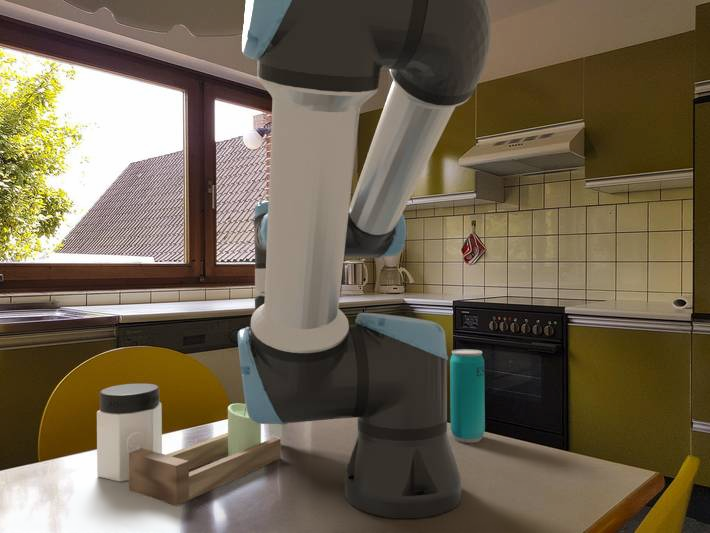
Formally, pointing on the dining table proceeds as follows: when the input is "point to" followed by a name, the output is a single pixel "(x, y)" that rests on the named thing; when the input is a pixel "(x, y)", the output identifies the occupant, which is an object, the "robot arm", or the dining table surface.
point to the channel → (171, 471)
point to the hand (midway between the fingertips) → (278, 434)
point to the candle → (241, 429)
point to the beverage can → (467, 395)
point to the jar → (127, 427)
